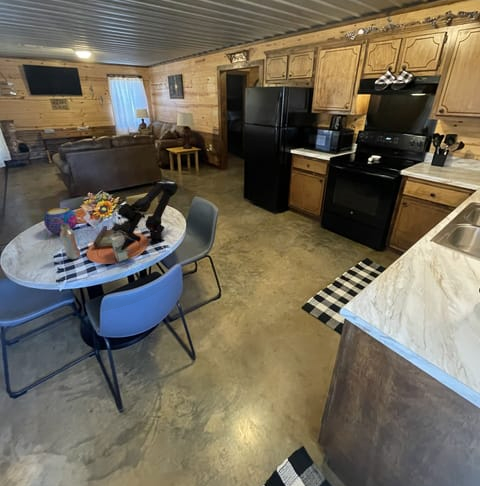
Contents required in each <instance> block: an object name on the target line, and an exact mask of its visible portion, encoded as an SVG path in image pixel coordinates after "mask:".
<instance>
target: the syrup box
mask: <svg viewBox="0 0 480 486" xmlns="http://www.w3.org/2000/svg"><path fill="white" fill-rule="evenodd" d="M110 239H111V243H112V246H113V248H112V250H113V254H114V258H115V259H116V261H117V262H118V263H121V262H123V261H126V260H128V259H130V256H129V252H128V247H127V248H126V249H124V250H123V251H122V250H121V248H122V246H123V244H124V242H125V239H124V236H123V235H122V233H121V232H120V233H117V234H114V235H110Z"/></svg>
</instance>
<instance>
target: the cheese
mask: <svg viewBox="0 0 480 486" xmlns="http://www.w3.org/2000/svg"><path fill="white" fill-rule="evenodd" d="M148 193H149V192H145V193H141V194H136V195H130V196H127V197H125V203H126V204H129V205H130V206H131V205H132V204H134V203H135V202H136V201H137V200H138V199H140V198H143V197H144V196H146V195H147V194H148ZM158 203H159V200H158V196H157V197H156V198H155V199H154V200H153V201H152V202H151V206H150V208H149V209H148V210H147V211H146V212H139V213H144V216H146V215H150V214H151V215H153V214H154V212H155V210H156V208H157V205H158ZM135 212H138V211H135Z"/></svg>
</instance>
